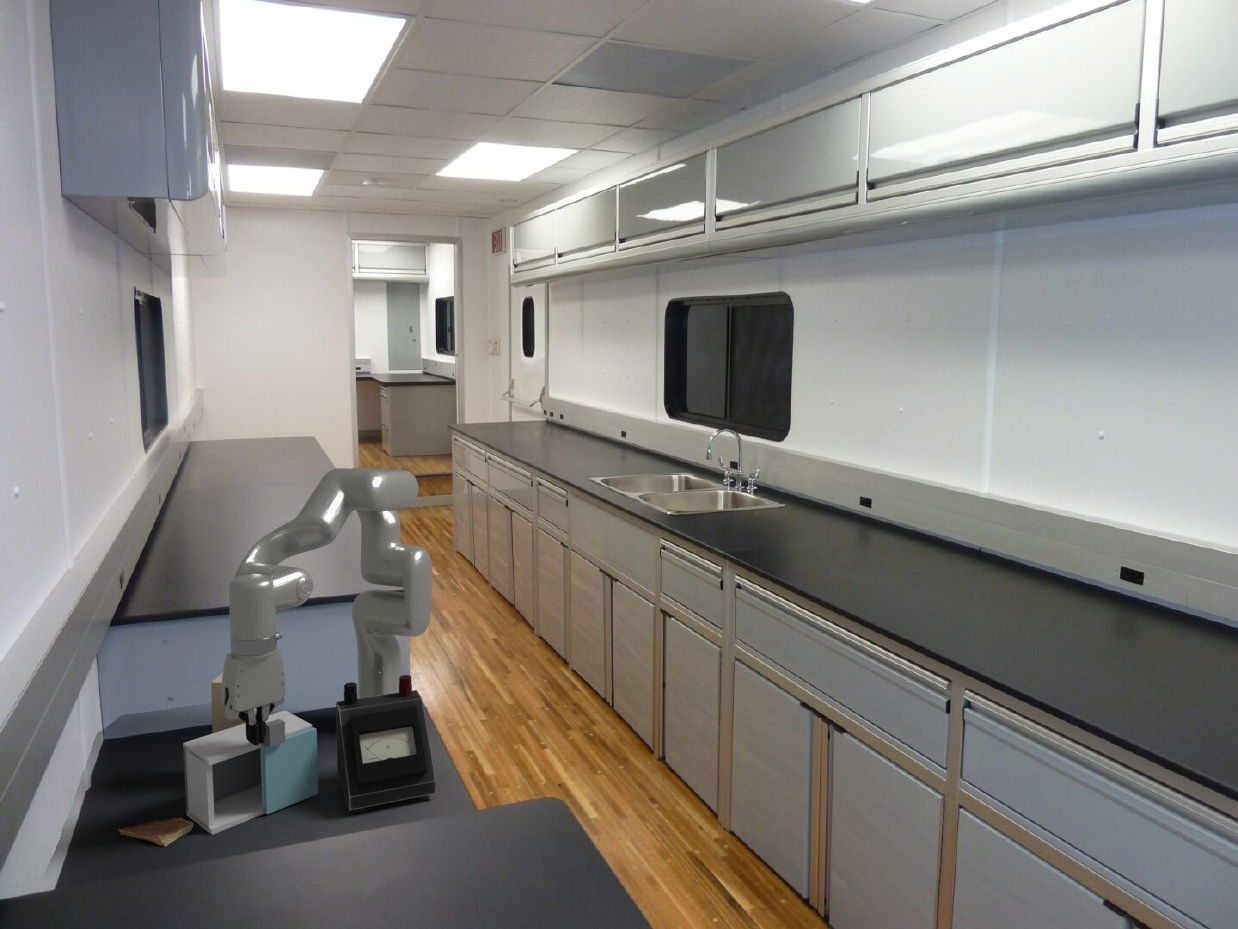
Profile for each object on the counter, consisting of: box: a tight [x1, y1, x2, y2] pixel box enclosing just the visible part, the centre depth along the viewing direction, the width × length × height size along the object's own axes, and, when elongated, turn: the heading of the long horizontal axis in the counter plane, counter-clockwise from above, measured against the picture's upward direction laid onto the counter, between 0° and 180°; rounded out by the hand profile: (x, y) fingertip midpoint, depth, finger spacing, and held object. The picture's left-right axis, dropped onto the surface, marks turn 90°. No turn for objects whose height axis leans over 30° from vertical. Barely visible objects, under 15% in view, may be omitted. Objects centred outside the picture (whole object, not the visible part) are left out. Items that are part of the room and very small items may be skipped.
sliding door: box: [262, 719, 319, 815], centre depth 167 cm, size 10×2×17 cm, turn 140°
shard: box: [117, 816, 194, 847], centre depth 159 cm, size 11×8×2 cm
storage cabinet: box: [182, 710, 313, 835], centre depth 167 cm, size 20×10×14 cm, turn 140°
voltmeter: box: [335, 674, 437, 813], centre depth 174 cm, size 16×16×20 cm
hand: (256, 742), depth 161 cm, fingers closed
